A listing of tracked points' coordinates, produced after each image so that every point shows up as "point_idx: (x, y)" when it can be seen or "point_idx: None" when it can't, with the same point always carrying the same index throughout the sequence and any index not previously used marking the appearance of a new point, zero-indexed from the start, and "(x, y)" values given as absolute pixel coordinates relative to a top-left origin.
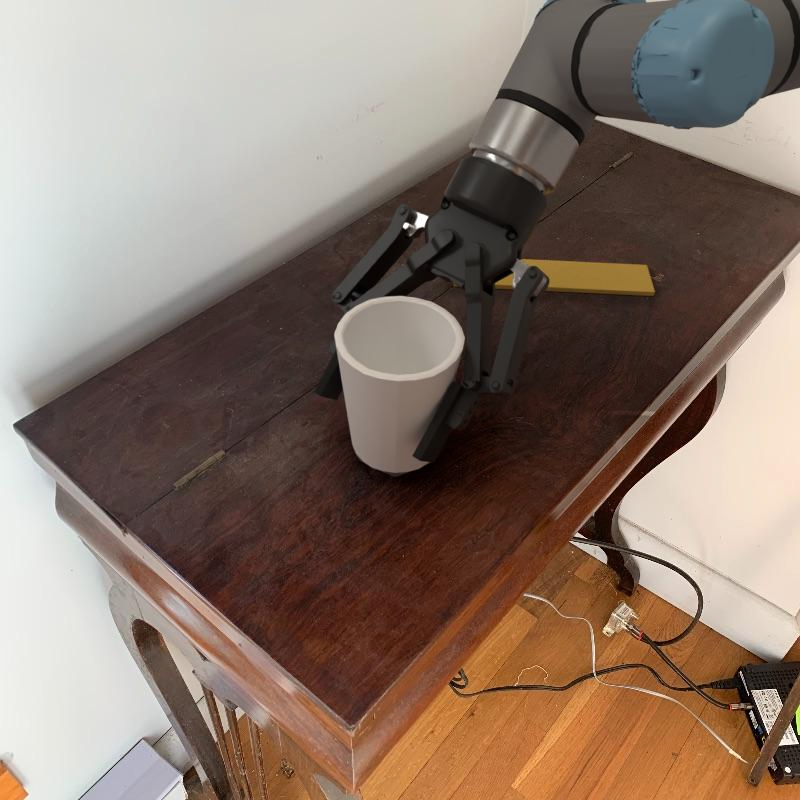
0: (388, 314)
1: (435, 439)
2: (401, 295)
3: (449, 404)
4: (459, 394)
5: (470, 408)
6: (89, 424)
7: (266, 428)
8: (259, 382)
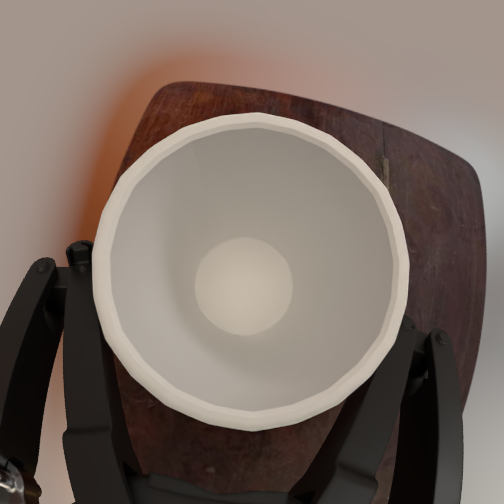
0: (337, 358)
1: None
2: (339, 420)
3: None
4: None
5: None
6: (461, 184)
7: None
8: (415, 296)
